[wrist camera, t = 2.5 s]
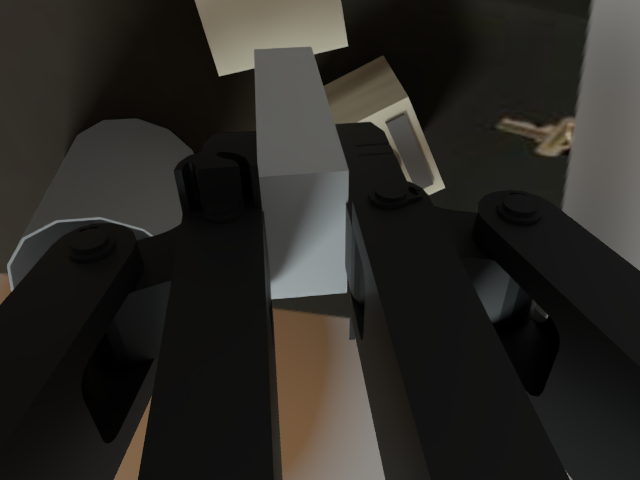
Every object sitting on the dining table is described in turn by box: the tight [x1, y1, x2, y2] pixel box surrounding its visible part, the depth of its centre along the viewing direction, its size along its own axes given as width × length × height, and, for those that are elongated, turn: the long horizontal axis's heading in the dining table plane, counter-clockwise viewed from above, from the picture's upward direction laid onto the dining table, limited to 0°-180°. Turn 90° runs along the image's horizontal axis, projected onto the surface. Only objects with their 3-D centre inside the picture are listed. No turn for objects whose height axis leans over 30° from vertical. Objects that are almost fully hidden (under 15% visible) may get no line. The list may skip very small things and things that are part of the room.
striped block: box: [323, 56, 445, 195], centre depth 31 cm, size 6×6×6 cm
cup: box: [7, 118, 194, 292], centre depth 30 cm, size 8×8×10 cm
